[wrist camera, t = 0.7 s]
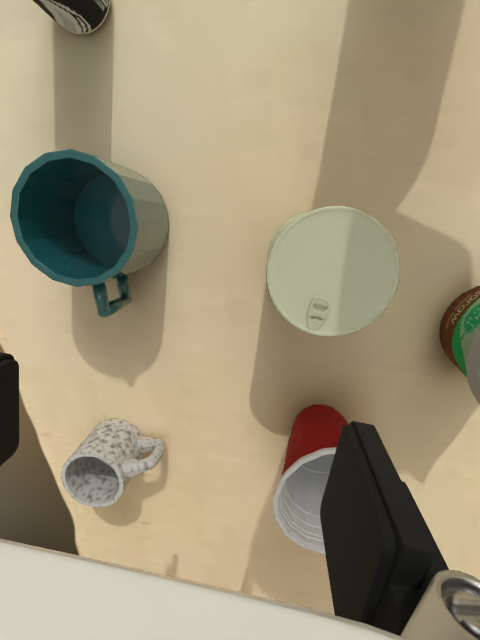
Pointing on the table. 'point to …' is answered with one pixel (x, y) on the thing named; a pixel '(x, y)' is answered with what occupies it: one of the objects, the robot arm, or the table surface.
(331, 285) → the can
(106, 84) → the table surface
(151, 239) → the mug
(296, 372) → the table surface
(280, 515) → the plastic cup
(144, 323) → the table surface
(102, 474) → the mug
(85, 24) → the beverage can
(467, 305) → the food container
